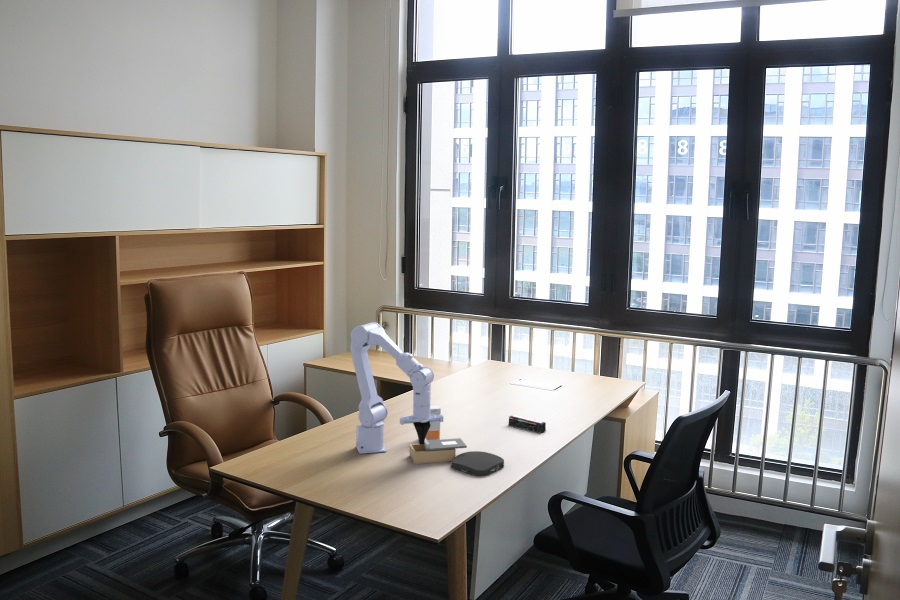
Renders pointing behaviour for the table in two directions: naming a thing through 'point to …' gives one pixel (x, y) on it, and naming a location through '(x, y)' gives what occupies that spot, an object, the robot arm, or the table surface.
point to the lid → (443, 444)
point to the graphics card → (527, 423)
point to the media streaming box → (477, 463)
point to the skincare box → (434, 425)
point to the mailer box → (430, 454)
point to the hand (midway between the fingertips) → (421, 443)
